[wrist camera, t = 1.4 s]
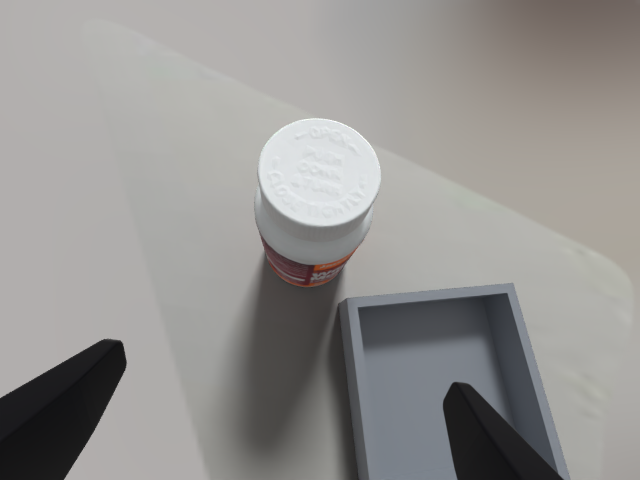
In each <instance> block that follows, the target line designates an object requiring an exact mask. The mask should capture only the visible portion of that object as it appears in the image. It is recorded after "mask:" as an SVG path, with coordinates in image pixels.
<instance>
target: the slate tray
mask: <svg viewBox="0 0 640 480" xmlns="http://www.w3.org/2000/svg"><path fill="white" fill-rule="evenodd" d="M338 306H339V315H340V323H341V332H342V340H343V349H344V358H345V366H346V375H347V384H348V392H349V401H350V409H351V418H352V427H353V435H354V444H355V452H356V461H357V470H358V478H359V480H457V477H456V473H455V469H454V464H453V460H452V454H451V449H450V444H449V439H448V433H447V428H446V423H445V417H444V412H443V400H444V398H445V396H446V394H447V392H448V390H449V388H450V386H451V384H452V383H453V382H463V383H468V384H470V385H471V386H472V387H473V388H474V389H475V390H476V391H477V392H478V393H479V394H480V395H481V396H482V397H483V398H484V399H485V400H486V401H487V402H488V403H489V404H490V405H491V406H492V407H493V408H494V409H495V410H496V411H497V412H498V413H499V414H500V415H501V416H502V417H503V418H504V419H505V420H506V421H507V422H508V423H509V424H510V425H511V426H512V427H513V428H514V429H515V430H516V431H517V432H518V433H519V434H520V435H521V436H522V437H523V438H524V439H525V440H526V441H527V442H528V443H529V444H530V445H531V447H532V448H533V449H534V450H535V451H536V452H537V453H538V454H539V455H540V456H541V457H542V458H543V459H544V460H545V461H546V462H547V463H548V464H549V465H550V466H551V467H552V468H553V469H554V470H555V471H556V472H557V473H558V474H559V475H560V476H561V477H562V478H563V479H564V480H570V476H569V473H568V469H567V466H566V463H565V459H564V456H563V452H562V449H561V445H560V442H559V439H558V435H557V432H556V428H555V425H554V421H553V418H552V415H551V411H550V408H549V404H548V401H547V397H546V394H545V391H544V387H543V384H542V380H541V377H540V373H539V370H538V367H537V363H536V360H535V356H534V353H533V349H532V346H531V343H530V339H529V336H528V332H527V329H526V325H525V322H524V319H523V315H522V312H521V308H520V305H519V301H518V298H517V295H516V291H515V288H514V284H513V283H507V284H496V285H485V286H474V287H463V288H452V289H442V290H431V291H420V292H409V293H398V294H387V295H376V296H366V297H355V298H346V299H345V300H343V301H342V302H340V303H339V304H338Z"/></svg>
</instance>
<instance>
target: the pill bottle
mask: <svg viewBox="0 0 640 480" xmlns="http://www.w3.org/2000/svg"><path fill="white" fill-rule="evenodd" d="M257 174H258V182H259V185H258V187H257V190H256V194H255V201H254V211H255V220H256V224H257V227H258V229H259V233H260V236H261V240H262V243H263V246H264V250H265V253H266V256H267V259H268V261H269V263H270V265H271V267H272V268H273V270H274V271H275V272H276V274H277V275H278V276H279V277H281V278H282V279H283V280H285V281H286V282H288V283H290V284H293V285H296V286H300V287H314V286H319V285H322V284H325V283H327V282H328V281H330V280H331V279H333V278H334V277H335V276H336V275H337V274H338V273H339V272H340V271H341V269H342V268H343V267H344V265H345V264H346V263H347V261H348V260H349V258H350V257H351V256H352V254H353V253H354V252H355V250H356V249H357V248H358V246H359V245H360V244H361V243H362V241H363V240H364V238H365V236H366V234H367V233H368V230H369V228H370V225H371V222H372V217H373V203H374V201H375V199H376V197H377V195H378V192H379V189H380V183H381V171H380V165H379V162H378V159H377V156H376V154H375V152H374V150H373V148H372V147H371V146H370V144H369V143H368V142H367V141H366V140H365V138H364V137H362V136H361V135H360V134H359V133H358V132H356V131H355V130H353V129H352V128H350V127H348V126H346V125H344V124H342V123H340V122H337V121H333V120H327V119H318V118H316V119H305V120H300V121H296V122H294V123H291V124H288V125H287V126H285V127H283V128H282V129H280V130H279V131H277V132H276V133H275V134H274V135H273V136H272V137H271V138H270V139H269V140H268V142H267V143H266V144H265V146H264V148H263V150H262V152H261V155H260V158H259V162H258V170H257Z"/></svg>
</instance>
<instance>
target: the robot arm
mask: <svg viewBox="0 0 640 480" xmlns="http://www.w3.org/2000/svg"><path fill="white" fill-rule="evenodd" d="M126 363H127V362H126V357H125V351H124V346H123V343H122V342H121V341H120V340H113V339H104V340H101V341H99V342H97V343H96V344H94V345H92V346H90V347H89V348H87V349H85V350H83V351H82V352H80V353H78V354H76V355H75V356H73V357H71V358H69V359H68V360H66V361H64V362H62V363H61V364H59V365H57V366H56V367H54V368H52V369H50V370H48V371H47V372H45V373H43V374H42V375H40V376H38V377H36V378H34V379H33V380H31V381H29V382H28V383H26V384H24V385H22V386H21V387H19V388H17V389H15V390H14V391H12V392H10V393H9V394H6V395H5V396H3V397H1V398H0V480H64V479H65V477H66V475H67V474H68V472H69V471H70V469H71V468H72V466H73V464H74V463H75V461H76V460H77V458H78V456H79V455H80V453H81V452H82V450H83V448H84V447H85V445H86V443H87V442H88V440H89V439H90V437H91V435H92V434H93V432H94V430H95V428H96V426H97V425H98V423H99V421H100V419H101V417H102V415H103V413H104V411H105V409H106V407H107V405H108V403H109V401H110V399H111V397H112V395H113V393H114V391H115V389H116V387H117V385H118V383H119V381H120V379H121V377H122V375H123V373H124V371H125V368H126ZM443 412H444V417H445V423H446V428H447V433H448V439H449V444H450V449H451V454H452V460H453V464H454V469H455V473H456V477H457V480H564V479H563V478H562V477H561V476H560V475H559V474H558V473H557V472H556V471H555V470H554V469H553V468H552V467H551V466H550V465H549V464H548V463H547V462H546V461H545V460H544V459H543V458H542V457H541V456H540V455H539V454H538V453H537V452H536V451H535V450H534V449H533V448H532V447H531V445H530V444H529V443H528V442H527V441H526V440H525V439H524V438H523V437H522V436H521V435H520V434H519V433H518V432H517V431H516V430H515V429H514V428H513V427H512V426H511V425H510V424H509V423H508V422H507V421H506V420H505V419H504V418H503V417H502V416H501V415H500V414H499V413H498V412H497V411H496V410H495V409H494V408H493V407H492V406H491V405H490V404H489V403H488V402H487V401H486V400H485V399H484V398H483V397H482V396H481V395H480V394H479V393H478V392H477V391H476V390H475V389H474V388H473V387H472V386H471V385H470V384H468V383H463V382H453V383H452V384H451V386H450V388H449V390H448V392H447V394H446V396H445V398H444V400H443Z"/></svg>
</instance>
